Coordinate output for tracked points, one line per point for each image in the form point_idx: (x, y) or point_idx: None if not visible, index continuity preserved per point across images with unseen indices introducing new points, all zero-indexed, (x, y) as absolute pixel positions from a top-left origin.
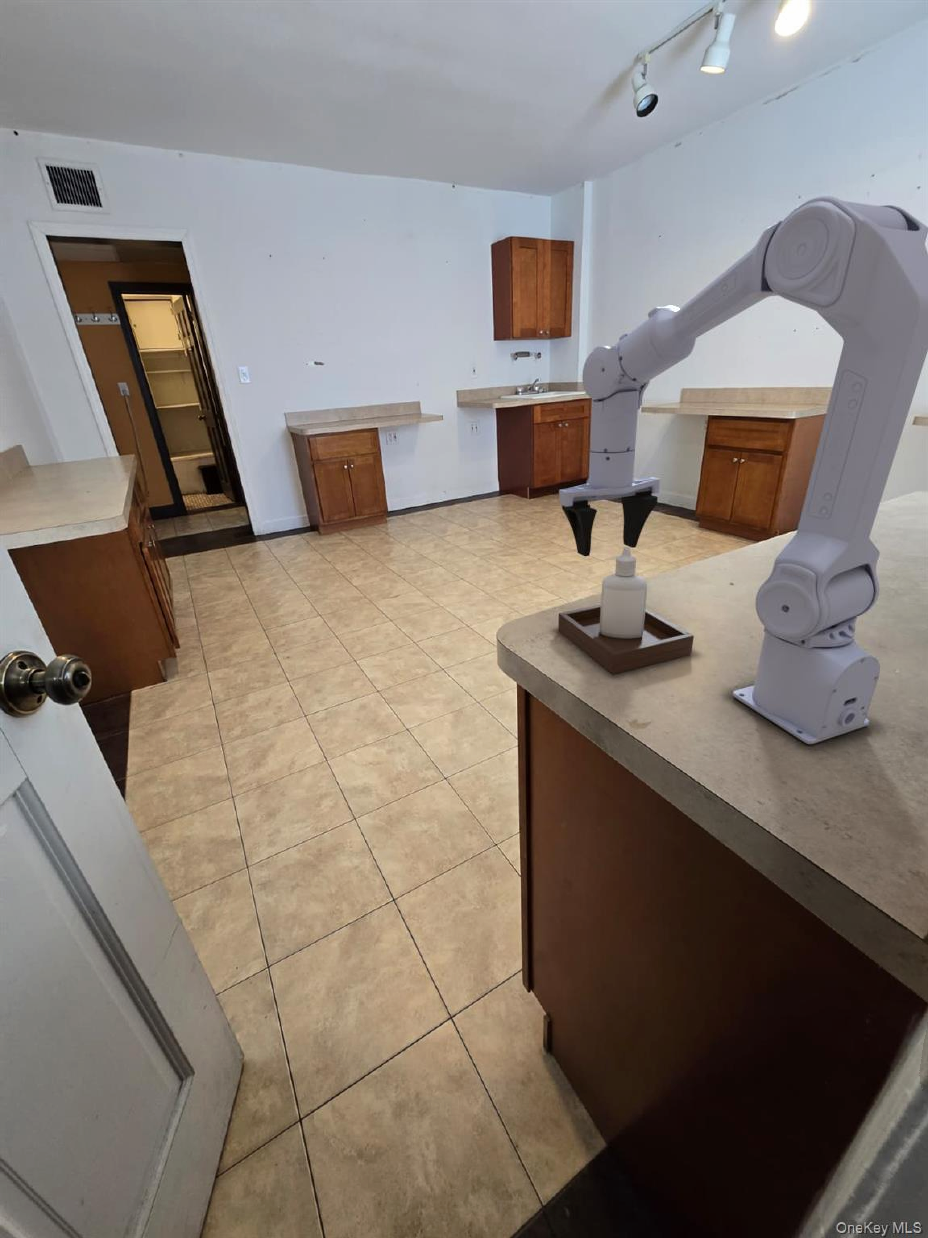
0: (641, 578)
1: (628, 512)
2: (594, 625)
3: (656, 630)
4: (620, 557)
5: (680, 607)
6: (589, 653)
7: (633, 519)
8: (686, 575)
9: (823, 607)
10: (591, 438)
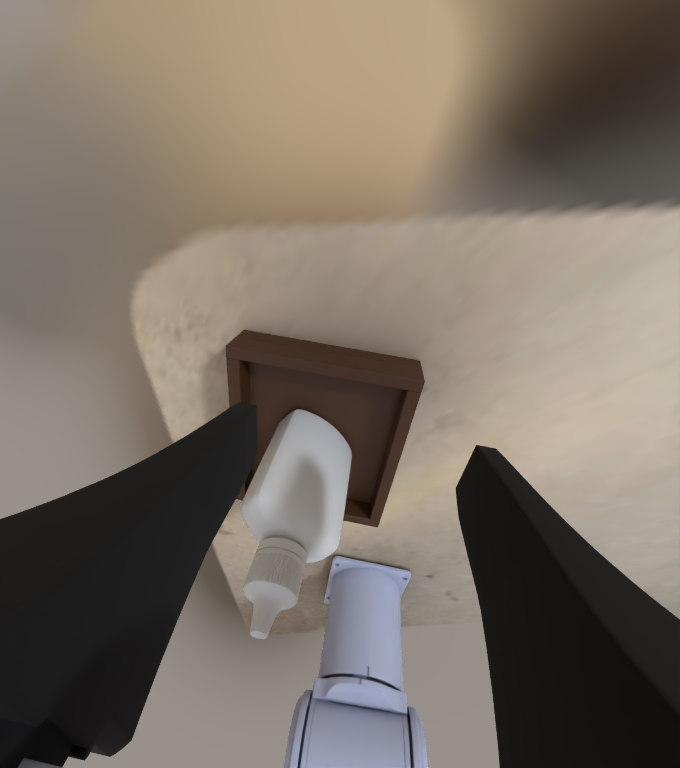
0: (313, 561)
1: (545, 631)
2: (296, 388)
3: (378, 460)
4: (250, 596)
5: (549, 400)
6: None
7: (503, 616)
8: None
9: None
10: None
